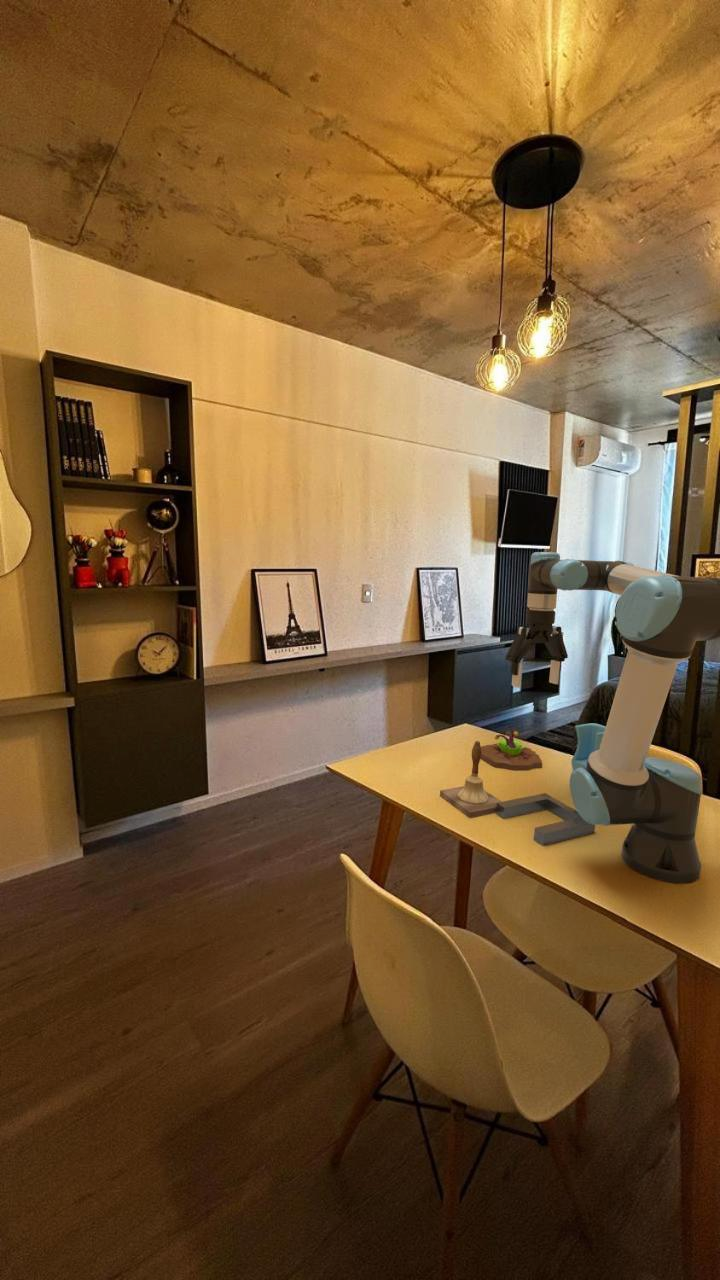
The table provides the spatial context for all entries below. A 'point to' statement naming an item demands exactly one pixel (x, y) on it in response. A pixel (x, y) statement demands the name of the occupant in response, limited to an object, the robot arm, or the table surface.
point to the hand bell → (474, 781)
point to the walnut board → (469, 808)
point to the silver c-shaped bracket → (550, 832)
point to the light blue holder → (587, 743)
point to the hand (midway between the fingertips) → (535, 685)
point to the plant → (510, 754)
